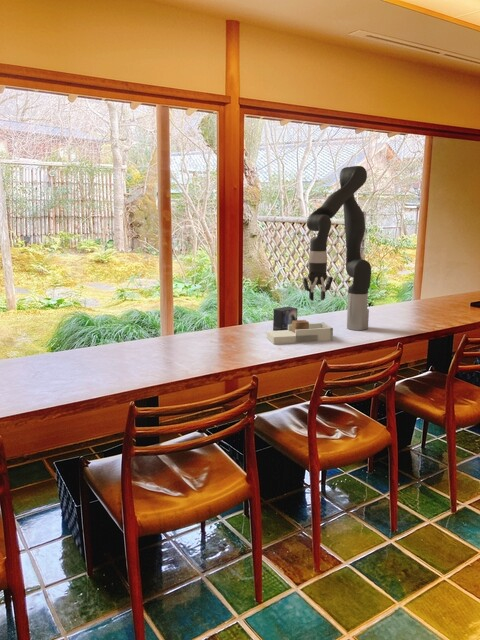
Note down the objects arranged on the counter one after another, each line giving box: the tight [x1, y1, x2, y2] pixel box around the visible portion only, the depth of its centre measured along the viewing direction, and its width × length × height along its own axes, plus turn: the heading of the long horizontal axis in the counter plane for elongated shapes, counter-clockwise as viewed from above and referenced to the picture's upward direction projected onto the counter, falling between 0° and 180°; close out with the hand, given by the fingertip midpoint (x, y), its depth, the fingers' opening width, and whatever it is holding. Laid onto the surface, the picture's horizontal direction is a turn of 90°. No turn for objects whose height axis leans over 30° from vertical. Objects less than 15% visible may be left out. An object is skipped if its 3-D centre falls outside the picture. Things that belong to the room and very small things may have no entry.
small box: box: [272, 305, 298, 331], centre depth 255 cm, size 11×6×10 cm, turn 129°
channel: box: [265, 322, 334, 345], centre depth 238 cm, size 27×11×6 cm, turn 103°
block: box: [292, 319, 310, 333], centre depth 237 cm, size 6×5×5 cm
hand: (317, 299), depth 236 cm, fingers open, 4 cm apart
